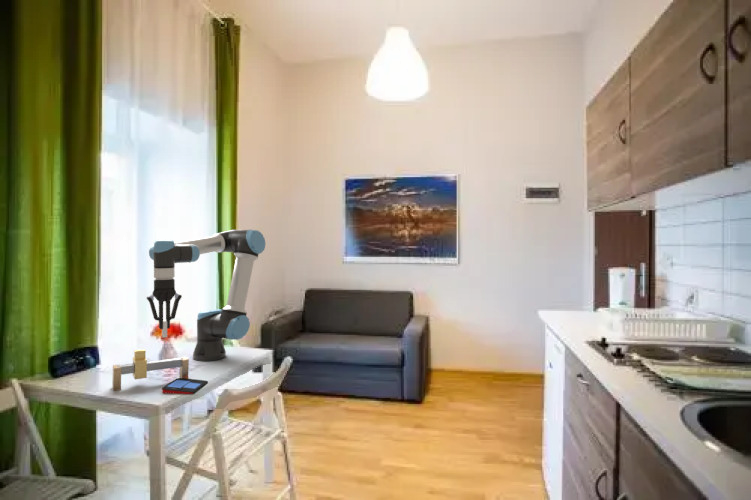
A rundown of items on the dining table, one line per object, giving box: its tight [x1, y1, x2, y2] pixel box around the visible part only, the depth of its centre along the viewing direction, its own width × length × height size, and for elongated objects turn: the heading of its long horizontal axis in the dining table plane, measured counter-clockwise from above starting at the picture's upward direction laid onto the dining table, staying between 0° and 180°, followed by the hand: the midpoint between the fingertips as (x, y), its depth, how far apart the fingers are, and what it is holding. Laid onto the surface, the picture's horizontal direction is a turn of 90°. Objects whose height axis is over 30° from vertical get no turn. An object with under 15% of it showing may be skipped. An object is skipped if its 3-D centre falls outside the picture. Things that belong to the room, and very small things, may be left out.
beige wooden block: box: [132, 348, 148, 380], centre depth 172 cm, size 4×7×10 cm, turn 35°
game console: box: [161, 377, 209, 395], centre depth 170 cm, size 14×13×2 cm
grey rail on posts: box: [111, 356, 190, 392], centre depth 174 cm, size 26×5×9 cm, turn 125°
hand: (164, 336), depth 177 cm, fingers closed
